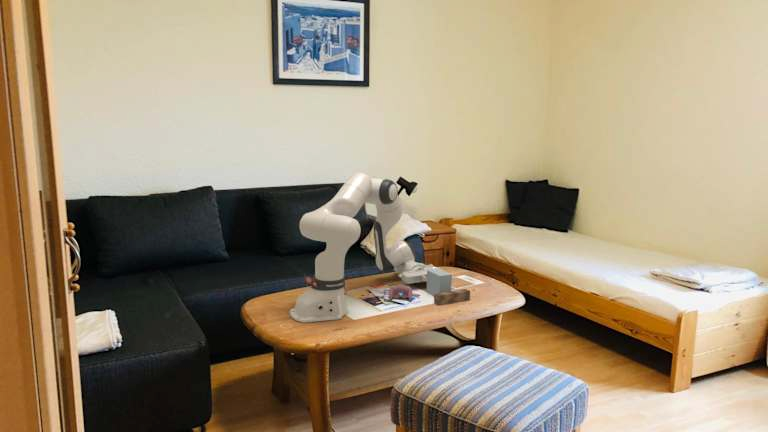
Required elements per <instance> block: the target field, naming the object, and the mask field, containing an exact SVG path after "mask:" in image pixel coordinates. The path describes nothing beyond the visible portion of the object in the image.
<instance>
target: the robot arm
mask: <svg viewBox="0 0 768 432" xmlns="http://www.w3.org/2000/svg"><path fill="white" fill-rule="evenodd" d="M398 192H399V191H398V186H397V184H396V183H395V181H393V180H391V179H388V178H386V179H385V178H384V179H383V178H378V177H370V175H368V174H366V173H365V172H361V171H359V172H356V173H353V175H352V176H350V177H349V178H348V179H347V180H346V181H345V182H344V183H343V185H342V186H341V187H340V189H339V190H338V192H336V194H335V195H334V197H333V198H332V199H331V200H330V201H328V202H326V203H325V204H324V205H322V206H321V207H319V208H317V209H315V210H313V211H309V212H306V213H304V214H303V215H302V217H301V218H300V220H299V230H300V231H299V232H300V233H301V235H302V236H303V237H305V238H307V239H310V240H312V241H316V242H317V241H318V242H322V243H323V242H324V243H326V248H325V250H324V251H321V252H320V253H318V254H317V255H316V257H315V259H314V268H315V270H314V271H315V273H314V277H313V278H311V277H309V276H308V277H306V283H308V284H310V286H309V288H308V289H305V291H304V292H302V293H301V294H300V295H299V296H298V297H297V298H296V302H295V307H294V308H291V309H290V310H289V316H290V317H291V318H292V319H293V320H295V321H297V322H300V323H304V324H305V323H313V322H322V321H323V322H325V321H335V320H342V319H343V316H345V315H346V314H348V312H349V311H348V306H347V304H346V303H347V302H346V296H345V295H346V294H345V290H346V277H345V258H346V255H347V252H348V251H349V249H350V247H351V246H353V245H354V244H355V243H356V242H357V241H358V240H359V238H360V235H361V231H362V230H361V229H362V228H361V225H360V223H359V220H357V219H355V216H356V215H357V214H358V213H359V211H360V210H361V208H362V207H363V205H364V204H371V205H375V209H376V219H375V222H373V238H374V239H373V240H374V247H375V264H376V266H377V268H378V270H380V272H384V273H390V272H392V271H393V270H394V271H395V273H397V274H398V275H397V277H398V278H400V279H401V281H402V282H403V283H405V284H406V285H407V284H409V285H410V284H415V283H425V282H426V283H427V270H431V269H441V270H443V269H442V268H440V267H437V266H434V265H433V264H432V263H422V262H417V261H415V260H416V251H415V249H414V246H413V245H412V244H411V243H410V242H408V241H407V240H399V241H397V242H396V243H394V244H392V245H391V246H389V247H387V237H388V234H389V232H390V231H391V229H392V228H393V227H395V226H396V224H398V223H399V221H400V220H401V218H402V216H403V215H402V214H403V208H402V203H401V201H400V197H399V194H398Z"/></svg>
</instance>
